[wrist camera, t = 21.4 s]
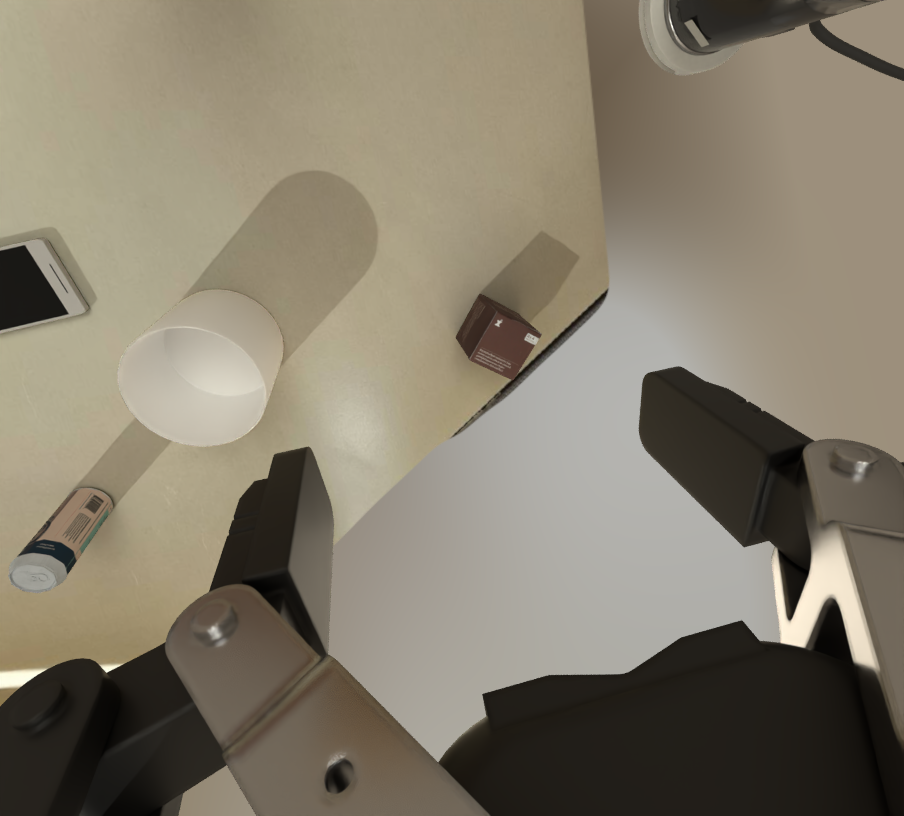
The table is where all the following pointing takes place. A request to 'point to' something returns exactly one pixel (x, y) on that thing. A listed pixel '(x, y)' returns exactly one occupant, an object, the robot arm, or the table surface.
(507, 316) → the box
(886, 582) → the robot arm
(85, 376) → the table surface
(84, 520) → the beer can
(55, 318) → the smartphone
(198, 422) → the cup
